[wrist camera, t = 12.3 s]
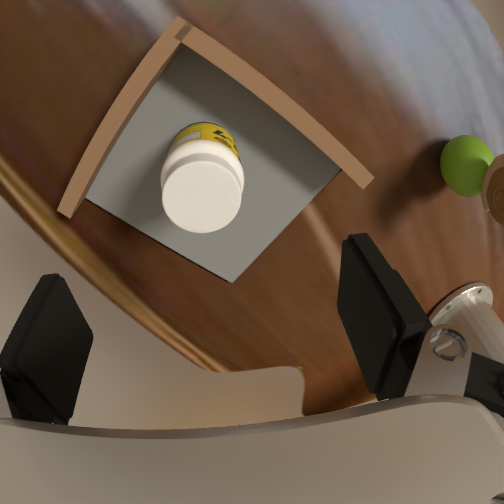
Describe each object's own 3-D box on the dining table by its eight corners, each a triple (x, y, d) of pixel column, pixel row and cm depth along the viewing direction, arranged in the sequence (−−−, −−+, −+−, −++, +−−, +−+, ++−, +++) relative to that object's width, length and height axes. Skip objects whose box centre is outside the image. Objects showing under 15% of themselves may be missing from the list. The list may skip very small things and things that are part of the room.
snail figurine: (476, 122, 23) (570, 173, 13) (463, 182, 27) (544, 249, 17) (435, 113, 23) (538, 166, 13) (424, 180, 26) (508, 254, 17)
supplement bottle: (247, 162, 24) (265, 216, 17) (192, 191, 24) (186, 255, 17) (217, 107, 21) (220, 136, 14) (159, 140, 22) (135, 185, 15)
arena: (353, 159, 25) (374, 177, 21) (235, 282, 30) (239, 312, 27) (183, 22, 17) (177, 15, 14) (75, 187, 23) (56, 210, 20)
